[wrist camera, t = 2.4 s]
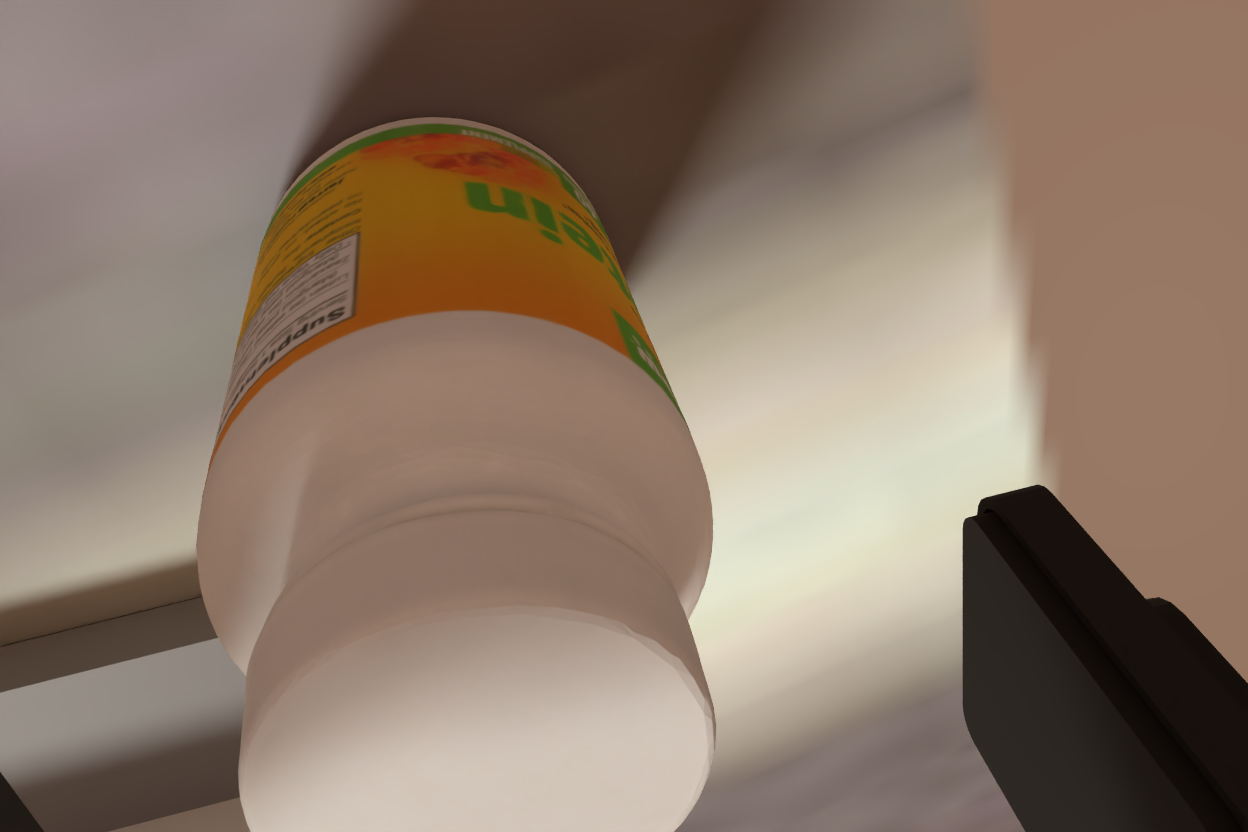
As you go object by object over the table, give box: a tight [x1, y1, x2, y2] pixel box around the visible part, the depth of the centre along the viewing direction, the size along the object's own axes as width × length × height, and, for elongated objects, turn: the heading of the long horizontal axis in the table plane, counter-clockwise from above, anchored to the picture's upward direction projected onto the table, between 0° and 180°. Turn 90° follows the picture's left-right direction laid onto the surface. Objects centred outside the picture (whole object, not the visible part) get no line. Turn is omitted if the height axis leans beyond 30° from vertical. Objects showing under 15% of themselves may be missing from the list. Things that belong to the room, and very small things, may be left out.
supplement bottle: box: [196, 117, 716, 832], centre depth 13 cm, size 5×5×10 cm
